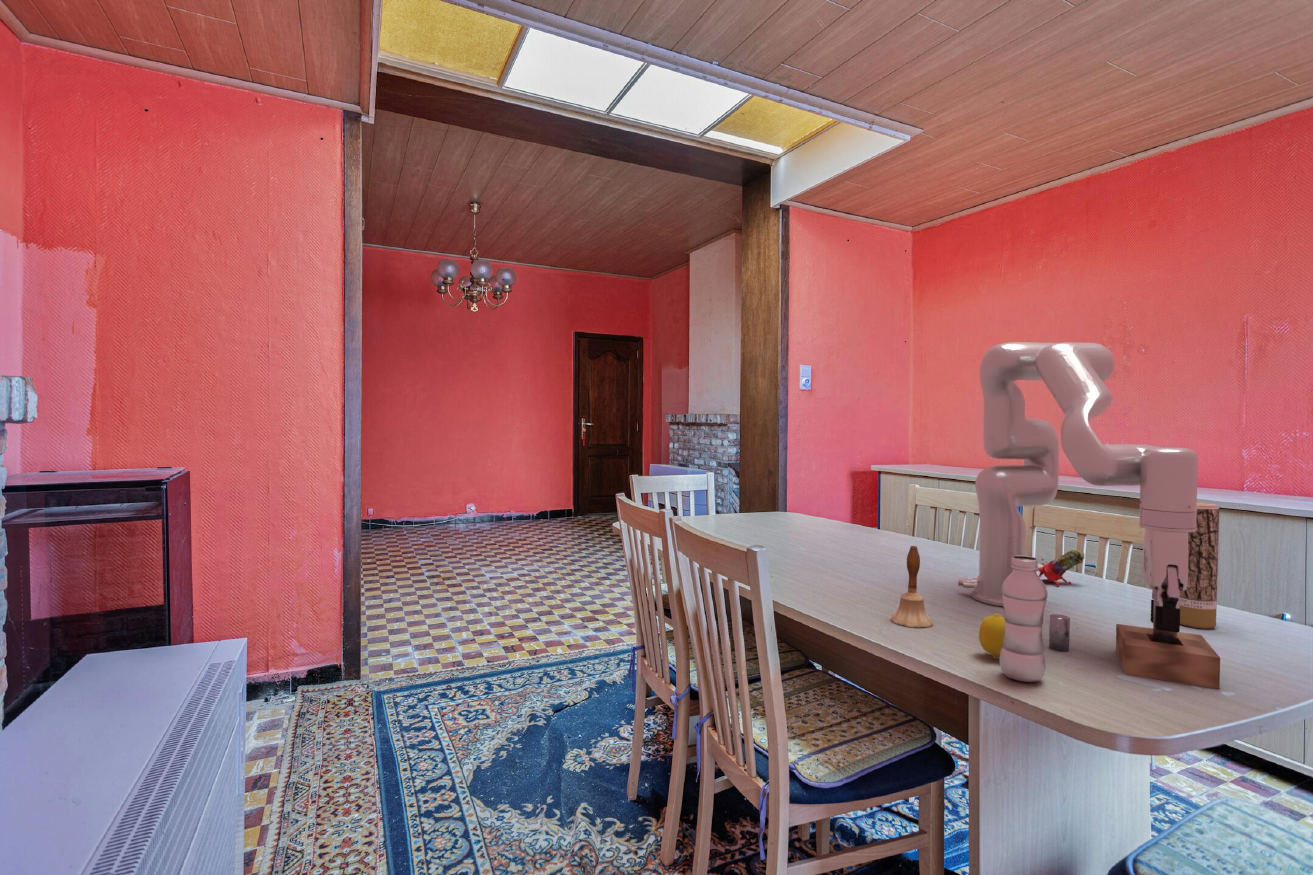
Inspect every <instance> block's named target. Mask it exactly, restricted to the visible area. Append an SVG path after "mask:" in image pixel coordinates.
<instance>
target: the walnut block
mask: <svg viewBox="0 0 1313 875" xmlns="http://www.w3.org/2000/svg"><path fill="white" fill-rule="evenodd" d="M1115 630H1116V632H1115V639H1116V640H1115V653H1116V655H1117V657H1118V659H1119V662H1120V664H1121V666H1122V668H1123V671H1124V674H1126V675H1132V676H1136V677H1137V676H1139V677H1142V678H1143V677H1144V678H1150V679H1155V680H1161V681H1167V682H1174V683H1180V684H1184V685H1185V684H1187V685H1193V686H1198V687H1205V688H1211V689H1217V690H1220V686H1221V685H1220V682H1221V680H1220V679H1221V675H1220V674H1221V657H1220V656H1219V655H1218V653H1217V652H1216V651H1215V649H1214V648H1213V647H1212V646H1211V645H1210V643H1209V642H1208V641H1207V640H1206V639H1205V637H1204V636H1203V635H1202V634H1199V633H1198V634H1196V633H1189V632H1182V631H1181V632H1180V631H1179V632H1178V633H1177V645H1174V644H1167V643H1160V642H1153V627H1152V628H1151V627H1143V626H1135V625H1128V624H1121V623H1116V626H1115Z"/></svg>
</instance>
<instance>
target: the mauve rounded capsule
mask: <svg viewBox="0 0 1313 875" xmlns="http://www.w3.org/2000/svg"><path fill="white" fill-rule="evenodd" d="M1048 618H1049V620H1048V623H1049V624H1048V649H1050V650H1052V651H1055V652H1061V653H1067V652H1070V640H1071V639H1070V633H1071V631H1070V630H1071V617H1069V616H1068V615H1065V614H1058V613H1057V614H1056V613H1052V614H1049V617H1048Z"/></svg>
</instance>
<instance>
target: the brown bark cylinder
mask: <svg viewBox="0 0 1313 875" xmlns="http://www.w3.org/2000/svg"><path fill="white" fill-rule="evenodd" d="M1219 506H1220V505H1218V504H1213V503H1208V502H1207V503H1206V502H1197V515H1196V531H1195V532H1188V544H1189V546H1188V583H1187V589H1186V590H1185V591H1183V592H1181V591H1180V626H1181V625H1182V626H1185V627H1187V628H1194V629H1201V630H1202V629H1205V630H1206V629H1207V630H1210V629H1213V628H1215V627H1216V625H1217V607H1218V606H1217V605H1218V604H1217V603H1218V575H1219V574H1218V570H1219V536H1220V534H1219V532H1220V507H1219Z"/></svg>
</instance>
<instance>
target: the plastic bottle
mask: <svg viewBox="0 0 1313 875" xmlns="http://www.w3.org/2000/svg"><path fill="white" fill-rule="evenodd" d="M1038 562H1039V560H1038V558H1036V557H1035V556H1034V557H1033V556H1030V555H1029V556H1028V555H1026V556H1012V564H1011V568H1012V569H1013V572H1012V573H1011V574H1010V575H1009V576H1008V577H1007V578H1006V580H1005V581H1004V582H1003V585H1002V597H1003V605H1004V606H1003V611H1004V612H1003V615H1004V617H1003V618H1004V619H1005V629H1004V637H1003V645H1002V646H1003V647H1002V649H1001V652H1000V657H999V658H998V660H999V666H1000V667H999V668H1000V670H1001V672H1002V674H1004V676H1006V677H1007V678H1010V679H1012V680H1015V681H1019V682H1025V683H1037V682H1039V681H1041V680H1042V679H1043V678H1044V676H1045V673H1046V668H1047V666H1046V658H1045V653H1044V643H1043V642H1044V641H1043V629H1044V627H1043V625H1044V615H1045V610H1046V605H1047V599H1048V589H1047V586H1046V585H1045V583H1044V582H1043V579H1041V577H1039V575H1038V574H1037V572H1039V571H1038V567H1039V566H1038V565H1039V563H1038Z"/></svg>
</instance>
